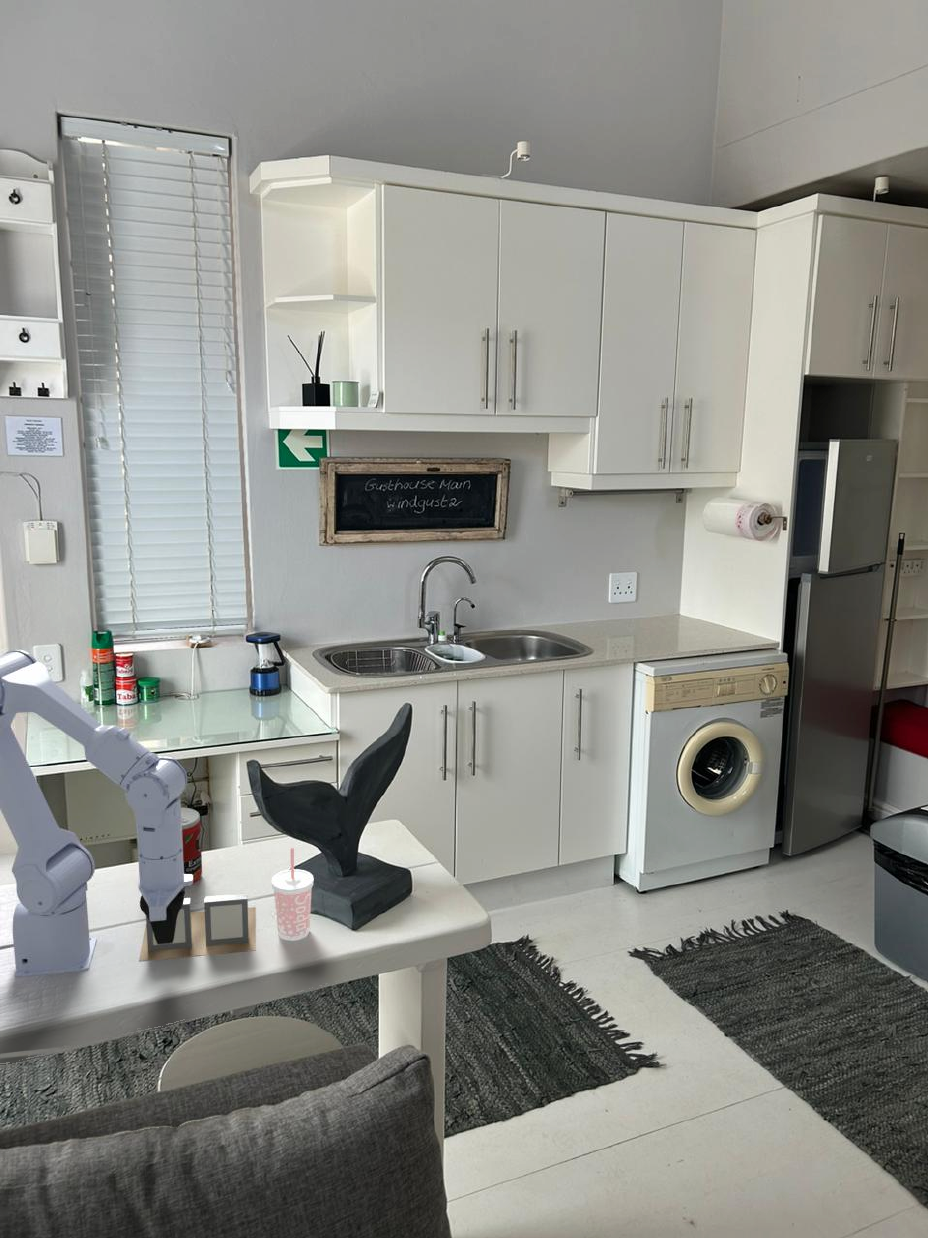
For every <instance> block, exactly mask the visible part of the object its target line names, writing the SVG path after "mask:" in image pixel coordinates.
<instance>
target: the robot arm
mask: <svg viewBox="0 0 928 1238" xmlns="http://www.w3.org/2000/svg"><path fill="white" fill-rule="evenodd" d="M19 713H21V714H23V713H34V714H36V715H38V716H39V718H42V719H43V720H45V721H46V722H47V723H49V724H51V725H53V726H54V727H56V728H57V729H58V730H59V731H61V732H63V733H64V734H66V735H67V736H69V737H71V738H72V739H73V740H74V741H76V742H77V743H79V744H80V745H81V746H83V749H84V757H85V760H86V761H87V762H88V763H90V764H91V765H92V766H94V767H95V768H96V769H98V771H100V772H101V773H103V774H104V776H105V775H106V777H108V778H109V779H110V780H111V781H112V782H113V783H115V784H116V785H118V786H119V787H120V788H122V789H123V790H124V791H125V792H124V797H125V799H126V802H127V804H128V806H129V807H130V808H131V809H132V811H133V813H134V821H135V822H136V843H137V856H138V857H137V858H138V859H137V860H138V872H139V875H138V876H139V879H138V884H137V885H138V890H139V892H140V894H141V896H140V899H139V907H140V910H141V911H142V912H143V914H144V915H145V917H146V916H147V918H148V920H149V922H150V924H151V927H152V930H153V934H154V937H155V940H156V942H157V944H168V943H173V940H174V935H175V928H176V920H177V916H178V913H179V911H180V909H181V907H182V904H183V902H184V898H185V893H186V887H189V886H192V885H194V883H193V875H192V874H184V864H183V841H182V820H181V807H182V804H181V798H180V796H181V795H182V794H183V792H184V791H185V790H186V788H187V785H188V775H187V771H186V770H185V768H184V767H183V766H182V764H180V763H179V761H178V760H177V759H176V758H173V757H171V756H165V755H164V756H161V755H158V754H157V753H155V752H151V751H150V750H149V749H147V748H146V747H145V746H143V744H141V743H140V742H138V741H137V740H136V739H134V738H133V737H132V736H131V731H129V730H127V728H125V727H122V728H121V727H119V726H118V725H115V724H114V725H113V724H112V725H102V724H101V722H99V721H98V720H97V719H96V718H95V717H93V716H92V715H91V714H90V713H89V712H88V711H87V710H86V709H84V707H82V705H80V703H78V702H77V701H76V700H75V699H73V698H72V696H70V695H69V694H68V693H67V692H66V691H65V690H63V689H62V688H61V687H60V686H59V685H58V684H57V683H56V682H55V681H54V680H53V679H52V677H51V675H50V673H49V670H48V668H47V666H46V665H45V664H43V663H42V662H40V661H37V659H36V658H35V657H34V656H33V655H32V654H31V653H29V652H28V651H25V650H23V649H12V650H8V651H6V652H5V653H3V654H2V655H0V811H1V814H2V815H3V818H4V820H5V822H6V824H7V826H8V828H9V830H10V833H11V835H12V836H13V839H14V841H15V842H16V845H17V847H18V849H17V853H16V855H15V858H14V862H13V864H12V868H11V872H12V874H13V877H14V879H15V883H16V884H15V885H16V895H17V898H18V900H19V903H17V904H16V906H15V909H14V913H13V917H12V918H13V919H12V941H13V952H14V962H15V963H14V964H15V974H14V977H15V978H18V977H19V978H21V977H30V976H41V975H51V974H52V975H54V974H63V973H64V974H65V973H73V972H84V971H88V970H89V969H90V966H91V962H92V959H93V956H94V952H95V947H96V945H97V941H98V938H97V937H90V928H89V915H88V902H87V901H88V900H87V891H88V882H89V881H90V880H91V879H92V878H93V876H94V874H95V870H96V865H95V864H96V863H95V860H94V857H93V855H92V854H91V852H90V851H89V849H86V847H85V846H83V844H81V842H80V841H79V839H78V837H77V835H76V833H74V832H73V831H70V830H67V829H64V828H60V827H59V824H58V823H57V821H56V819H55V817H54V814H53V813H52V809H51V808H50V806H49V804H48V802H47V799H46V798H45V795H44V793H43V792H42V789H41V786H39V783H38V781H37V779H36V777H35V774H34V772H33V771H32V769H31V767H30V764H29V762H28V760H27V758H26V756H25V753H24V751H23V749H22V746H21V745H20V743H19V741H18V739H17V737H16V735H15V732H14V730H13V728H12V724H13V721H14V719H15V717H16V715H17V714H19Z"/></svg>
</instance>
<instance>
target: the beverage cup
mask: <svg viewBox="0 0 928 1238" xmlns="http://www.w3.org/2000/svg"><path fill="white" fill-rule="evenodd" d="M314 880H315V879H314V875H313V874H312V873H311V872H310V871H307V870H304V869H299V868H296V869H295V848H294V846H291V847H290V869H286V870H282V871H279V872H278V873H275V874H274V875H273V877H272V878H271V887H272V889H273V893H274V903H275V914H276V926H277V935H278V937H280V939H282V940H285V941H290V942H292V941H299V940H302V939H305V938H306V937H307V936H308V935H309V933H310V929H311V909H312V908H311V907H312V890H313V889H312V888H313V887H314Z"/></svg>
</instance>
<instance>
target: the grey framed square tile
mask: <svg viewBox="0 0 928 1238" xmlns="http://www.w3.org/2000/svg"><path fill="white" fill-rule="evenodd" d="M191 903H192V902H191V897H186V898H185V897H184V902H183V904H182V907H181V909H180V911H179V913H178V916H177V920H176V928H175V935H174V940H173V943H168V944H157V942H156V940H155V937H154V934H153V930H152V927H151V924H150V922H149V920H148V918H147V916H146V915H145V923H146V924H145V927H147V944H148V952H150V951H161V950H172V949H183V948H192V924H191V913H192V908H191V907H192V905H191Z"/></svg>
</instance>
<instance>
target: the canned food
mask: <svg viewBox="0 0 928 1238" xmlns="http://www.w3.org/2000/svg"><path fill="white" fill-rule="evenodd" d="M200 816H201V815H200V813H199V811H197V810H195V809H193V808H190V807H189V808H188V807H182V806H181V820H182V841H183V864H184V874H192V875H193V884H195V883H196V882H198V881H199V880H200V879H201V878H202V876H203V875H202V874H203V862H202V861H203V857H202V856H203V855H202V827H201V817H200Z"/></svg>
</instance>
